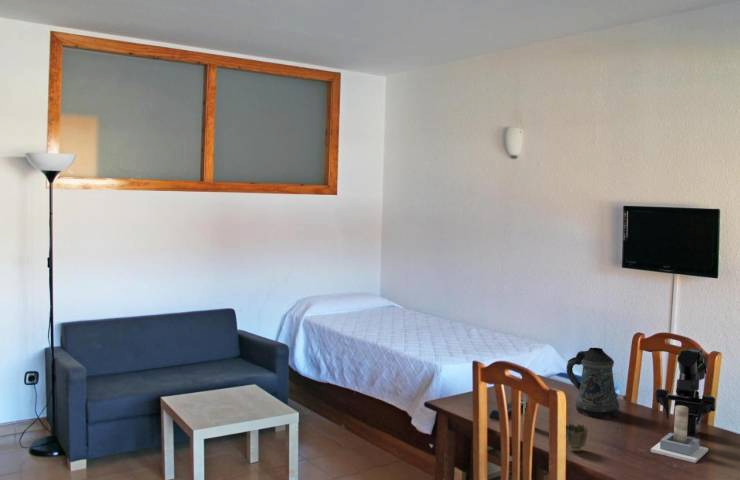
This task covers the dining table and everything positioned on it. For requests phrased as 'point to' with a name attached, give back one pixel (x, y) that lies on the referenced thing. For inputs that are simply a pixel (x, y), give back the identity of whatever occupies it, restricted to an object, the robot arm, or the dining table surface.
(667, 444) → the socket block
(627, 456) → the dining table surface
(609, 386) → the beer stein
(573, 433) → the cup
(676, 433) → the peg
